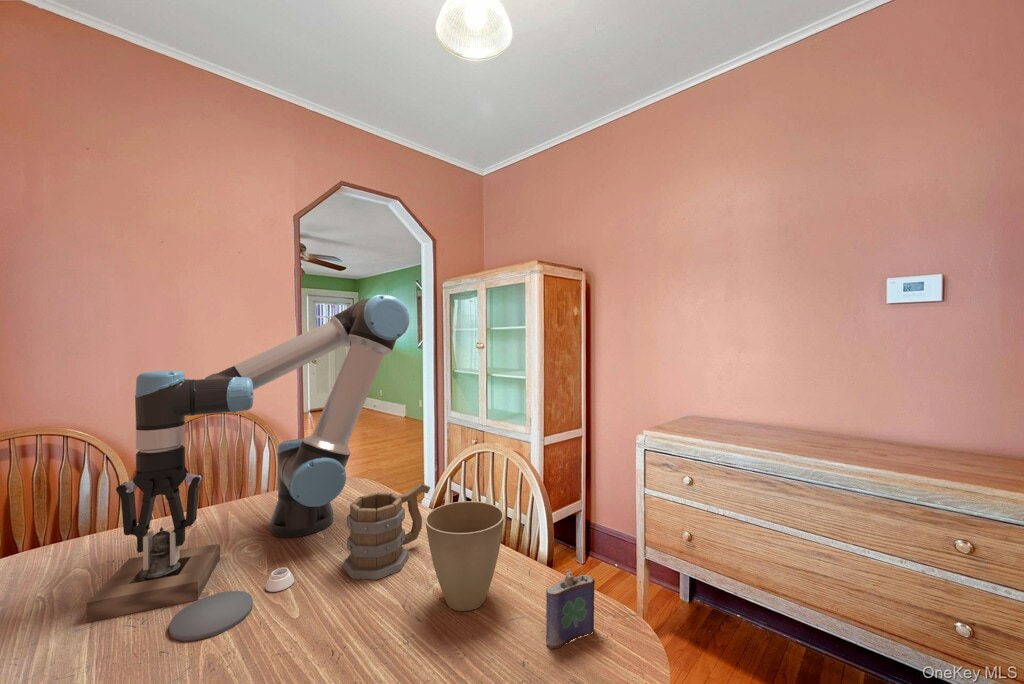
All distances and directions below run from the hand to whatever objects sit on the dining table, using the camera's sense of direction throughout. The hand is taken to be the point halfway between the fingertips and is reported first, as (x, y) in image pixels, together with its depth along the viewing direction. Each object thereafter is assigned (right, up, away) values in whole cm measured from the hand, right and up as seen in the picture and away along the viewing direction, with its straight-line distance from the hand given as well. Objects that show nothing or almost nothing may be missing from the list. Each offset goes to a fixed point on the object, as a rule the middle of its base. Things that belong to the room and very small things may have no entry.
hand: (161, 563), depth 83 cm
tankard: (+43, -5, +11) cm, 45 cm away
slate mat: (+17, -5, -9) cm, 20 cm away
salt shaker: (0, -5, 0) cm, 5 cm away
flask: (+80, -5, -14) cm, 82 cm away
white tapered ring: (+24, -5, 0) cm, 24 cm away
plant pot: (+62, -5, -4) cm, 62 cm away
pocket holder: (0, -5, 0) cm, 5 cm away
